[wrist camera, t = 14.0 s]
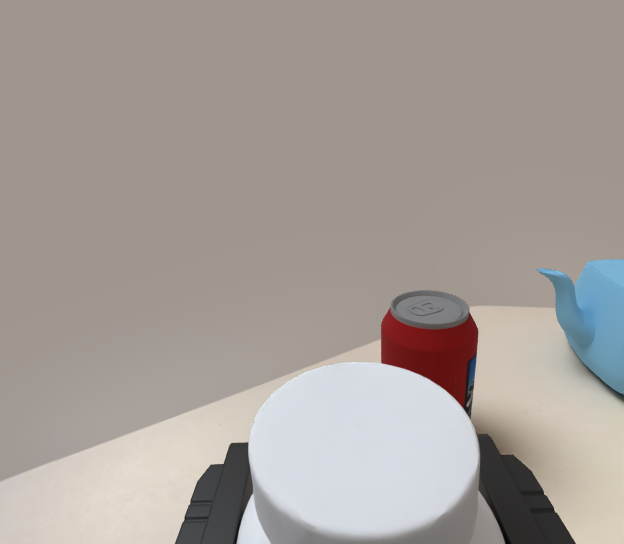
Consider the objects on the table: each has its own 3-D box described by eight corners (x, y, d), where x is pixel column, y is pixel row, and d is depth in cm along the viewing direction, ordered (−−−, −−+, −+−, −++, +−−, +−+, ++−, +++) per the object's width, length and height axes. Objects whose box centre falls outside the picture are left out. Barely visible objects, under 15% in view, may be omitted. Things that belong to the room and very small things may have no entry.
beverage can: (487, 451, 29) (503, 313, 25) (415, 484, 27) (419, 339, 23) (430, 399, 35) (436, 280, 31) (367, 423, 33) (363, 298, 29)
